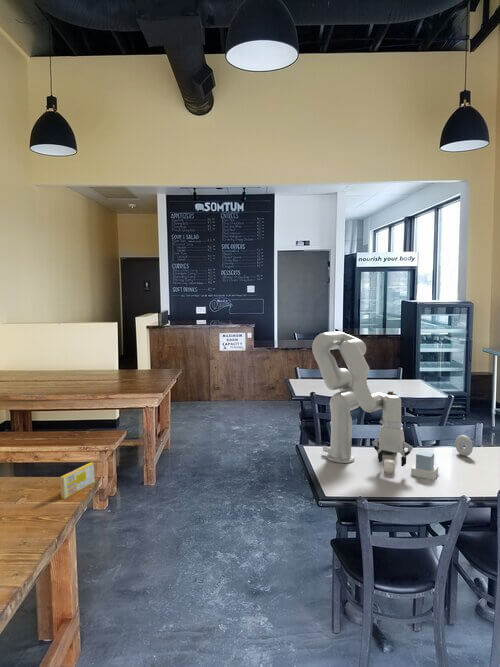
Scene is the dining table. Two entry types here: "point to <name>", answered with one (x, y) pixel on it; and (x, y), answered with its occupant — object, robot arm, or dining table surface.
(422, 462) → the slate cube
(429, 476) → the plinth
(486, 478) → the dining table surface
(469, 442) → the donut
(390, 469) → the cream cap
